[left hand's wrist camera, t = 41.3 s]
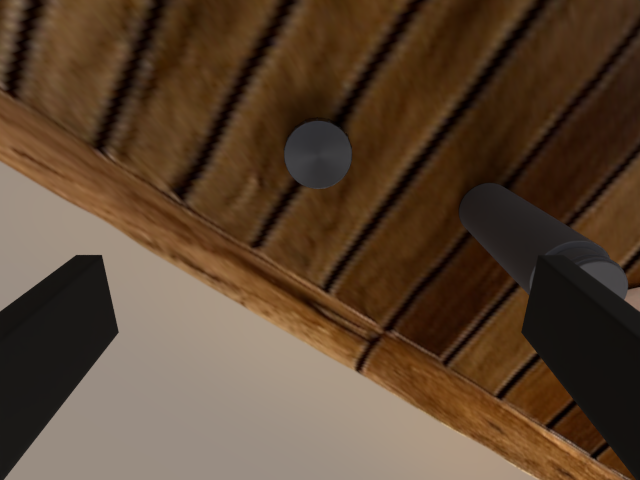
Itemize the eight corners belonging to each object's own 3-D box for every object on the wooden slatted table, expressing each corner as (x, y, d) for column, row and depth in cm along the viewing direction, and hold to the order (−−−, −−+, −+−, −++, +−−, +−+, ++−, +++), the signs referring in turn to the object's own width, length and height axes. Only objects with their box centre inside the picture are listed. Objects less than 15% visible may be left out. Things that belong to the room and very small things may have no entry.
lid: (331, 193, 40) (331, 201, 38) (274, 163, 39) (271, 169, 37) (362, 138, 38) (365, 142, 36) (304, 104, 37) (303, 106, 35)
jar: (481, 172, 39) (590, 239, 23) (523, 200, 40) (655, 280, 24) (448, 217, 41) (528, 307, 25) (489, 242, 42) (591, 344, 26)
